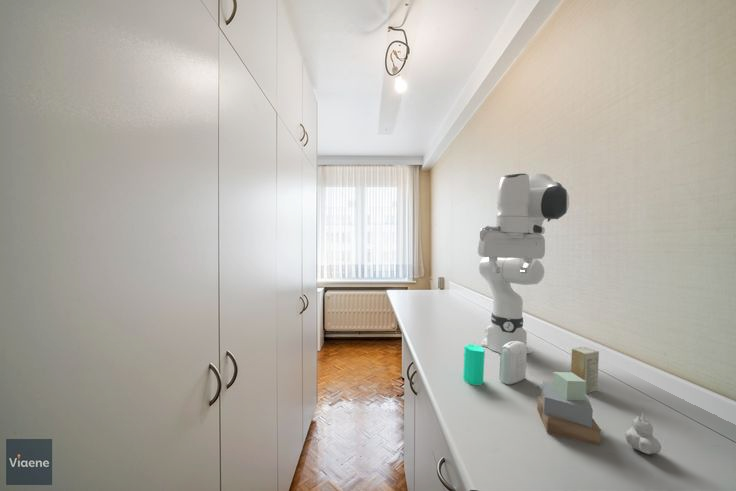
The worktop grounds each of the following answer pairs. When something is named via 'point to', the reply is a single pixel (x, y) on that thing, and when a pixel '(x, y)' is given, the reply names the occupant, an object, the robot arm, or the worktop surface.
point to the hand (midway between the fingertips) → (510, 273)
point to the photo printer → (513, 362)
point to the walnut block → (569, 427)
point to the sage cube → (569, 386)
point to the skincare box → (586, 366)
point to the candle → (473, 364)
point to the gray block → (566, 406)
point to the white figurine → (642, 436)
